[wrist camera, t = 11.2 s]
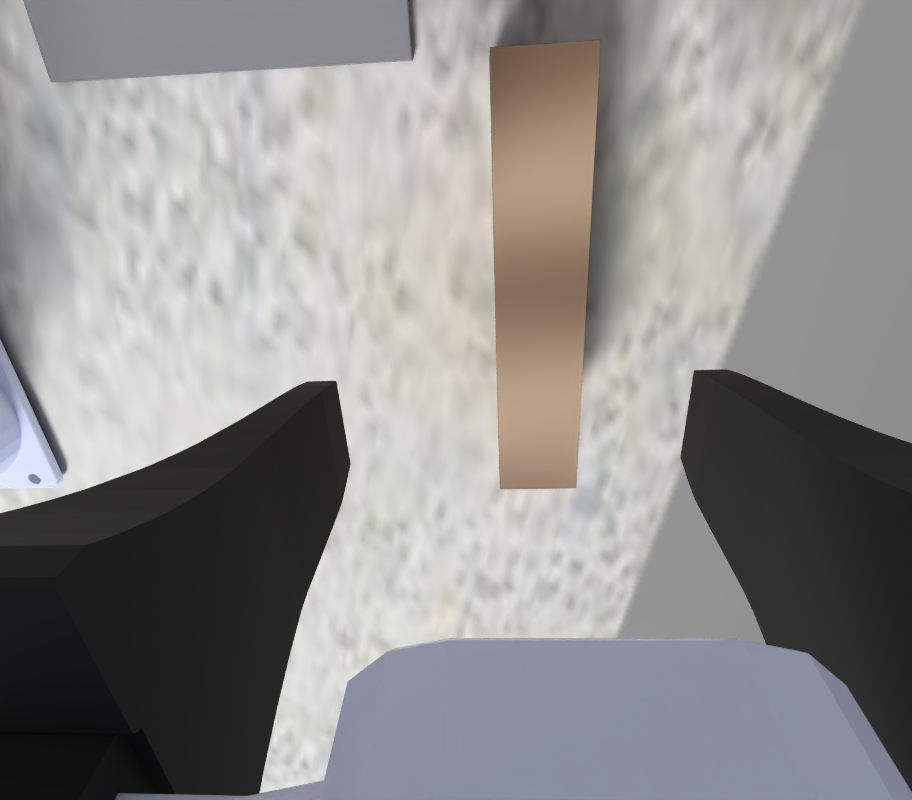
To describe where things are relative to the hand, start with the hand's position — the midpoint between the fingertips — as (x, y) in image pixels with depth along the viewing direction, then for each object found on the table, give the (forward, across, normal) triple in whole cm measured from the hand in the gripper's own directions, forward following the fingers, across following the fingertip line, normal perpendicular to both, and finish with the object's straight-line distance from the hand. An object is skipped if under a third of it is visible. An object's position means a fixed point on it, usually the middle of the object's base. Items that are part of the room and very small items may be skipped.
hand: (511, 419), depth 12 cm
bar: (+10, -1, -1) cm, 10 cm away
